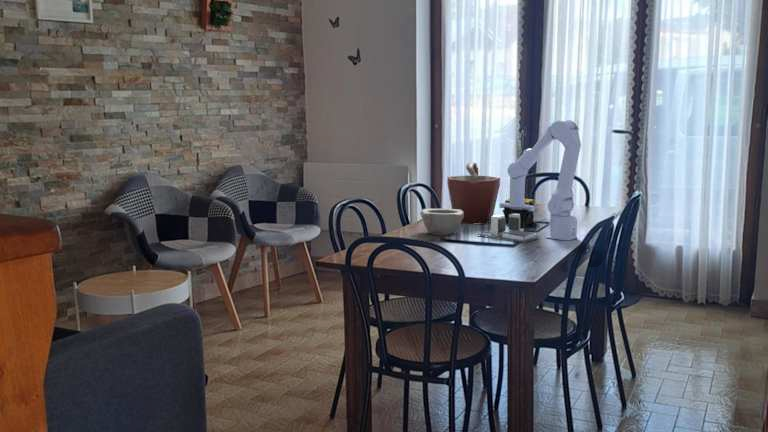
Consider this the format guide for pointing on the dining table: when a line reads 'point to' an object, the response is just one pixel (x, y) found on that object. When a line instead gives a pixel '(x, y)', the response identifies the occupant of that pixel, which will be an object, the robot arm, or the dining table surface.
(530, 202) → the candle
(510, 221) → the white matte cuboid
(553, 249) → the dining table surface
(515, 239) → the grey hollow box
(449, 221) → the mortar
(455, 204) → the bucket
